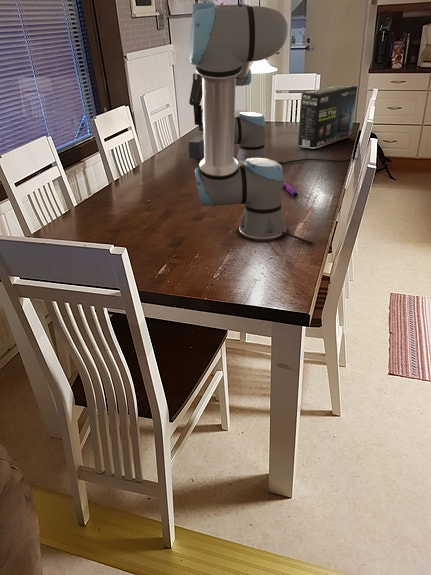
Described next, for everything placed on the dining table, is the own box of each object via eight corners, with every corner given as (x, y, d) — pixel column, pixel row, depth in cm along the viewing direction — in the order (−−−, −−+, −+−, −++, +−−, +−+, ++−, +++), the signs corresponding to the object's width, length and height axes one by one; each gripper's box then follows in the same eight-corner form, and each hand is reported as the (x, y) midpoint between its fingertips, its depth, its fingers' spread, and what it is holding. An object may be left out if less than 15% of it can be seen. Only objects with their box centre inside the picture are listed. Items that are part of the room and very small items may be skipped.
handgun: (264, 183, 192) (264, 178, 191) (281, 181, 193) (281, 176, 192) (279, 199, 175) (279, 194, 174) (298, 197, 176) (298, 192, 175)
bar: (199, 159, 220) (198, 142, 216) (189, 158, 222) (188, 141, 218) (218, 144, 244) (218, 128, 240) (209, 143, 246) (208, 128, 241)
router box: (314, 151, 231) (318, 94, 217) (296, 148, 237) (299, 92, 224) (352, 138, 251) (358, 85, 238) (335, 135, 258) (340, 83, 245)
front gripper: (214, 52, 166) (216, 114, 177) (175, 59, 148) (180, 127, 159) (232, 52, 163) (233, 115, 174) (195, 59, 145) (199, 129, 156)
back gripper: (229, 96, 230) (230, 143, 242) (195, 96, 235) (197, 142, 247) (225, 99, 224) (226, 147, 236) (190, 98, 229) (192, 145, 241)
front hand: (208, 121), depth 166 cm, fingers open, 13 cm apart
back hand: (211, 144), depth 242 cm, fingers closed on bar, 5 cm apart
